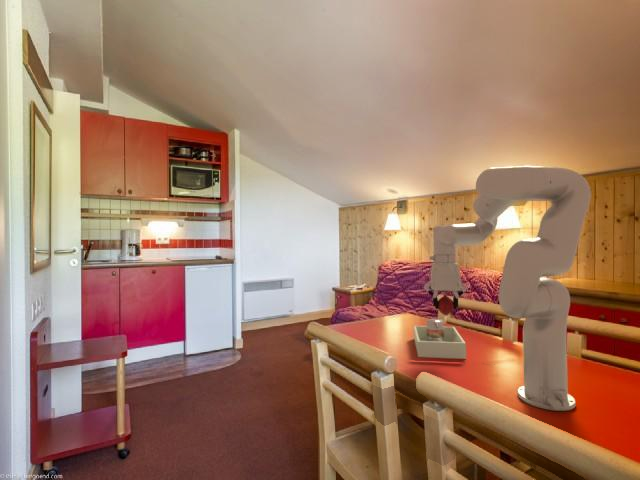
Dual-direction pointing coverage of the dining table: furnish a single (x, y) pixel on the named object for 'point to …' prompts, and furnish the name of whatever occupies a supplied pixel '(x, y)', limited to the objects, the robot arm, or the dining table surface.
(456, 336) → the tote
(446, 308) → the onion
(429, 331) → the glass jar
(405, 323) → the dining table surface
